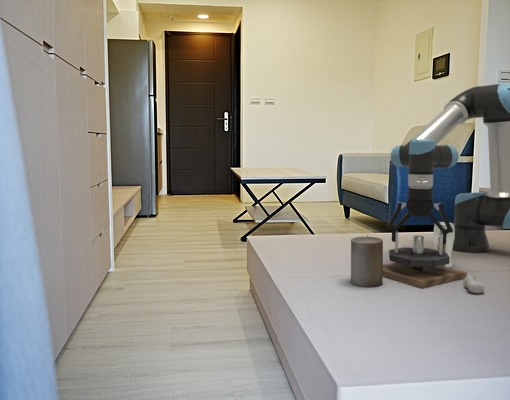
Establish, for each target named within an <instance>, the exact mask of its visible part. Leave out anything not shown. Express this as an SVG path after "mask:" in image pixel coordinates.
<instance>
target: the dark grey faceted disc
mask: <svg viewBox="0 0 510 400" xmlns="http://www.w3.org/2000/svg"><path fill="white" fill-rule="evenodd" d="M388 258H389V261H390V262H391V263H395V262H396V263H400V264H404V265H409V266H424V267H436V266H441V265H446V264H449V259H450V257H449V256H448V254H447V253H446V252H442V255H440V254H439V251H438V250H435V249H434V248H433V249H432V248H425V247H424V254H423V255H413V247H409V246H405V247H398V253H395V248H391V249H389V250H388Z"/></svg>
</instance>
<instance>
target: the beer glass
mask: <svg viewBox="0 0 510 400" xmlns="http://www.w3.org/2000/svg"><path fill="white" fill-rule="evenodd" d="M438 222H439V223H440V224H441V225H442V227H443V228H444V229H447V227H446V225H445V223H444V221H438ZM449 223H450V225H451V227H452V229H453V232H450V233H448V234H447V237H446V244H443V248H442V252H446V253H447V254H448V256H449V257H450V259H449V264H446V265H441V266H444V267H449V268H452V267H453V261H452V253H453V245H454V240H455V224H454V222H449ZM439 233H442V231H441V230H440V229H439V228H438V227H437V226H436V224H435V223H434V226H433V247H434V250H438V251H439Z"/></svg>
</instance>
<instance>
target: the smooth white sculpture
mask: <svg viewBox="0 0 510 400" xmlns="http://www.w3.org/2000/svg"><path fill="white" fill-rule="evenodd" d="M463 286H464V288H466V289H468V291H469V292H470V293H472V294H476V295H478V294H479V295H480V294H481V293H484V291H485V285H484V284H483V283H482V281H480V280H477V279H476V278H475V276H474V275H473V274H467V276H466V277H465V279H463Z"/></svg>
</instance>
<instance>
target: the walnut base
mask: <svg viewBox="0 0 510 400" xmlns="http://www.w3.org/2000/svg"><path fill="white" fill-rule="evenodd" d="M467 273H468V272H467V271H464V270H461V269H457V268H456V269H455V268H452V267H444V266H436V267H423V270H422V271H416V270H413V267H412V266H409V265H404V264H400V263H396V262H391V263H385V264H384V263H383V275H382V278H386V279H390V280H393V281H396V282H399V283H403V284H406V285H409V286H412V287H416V288H417V289H418V288H419V289H426V288H427V289H428V288H431V287H434V286H435V287H436V286H439V285H443V284H448V283H451V282H457V281H459V280H460V281H461V280H464V279H465V277H466V276H468V274H467Z"/></svg>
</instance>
